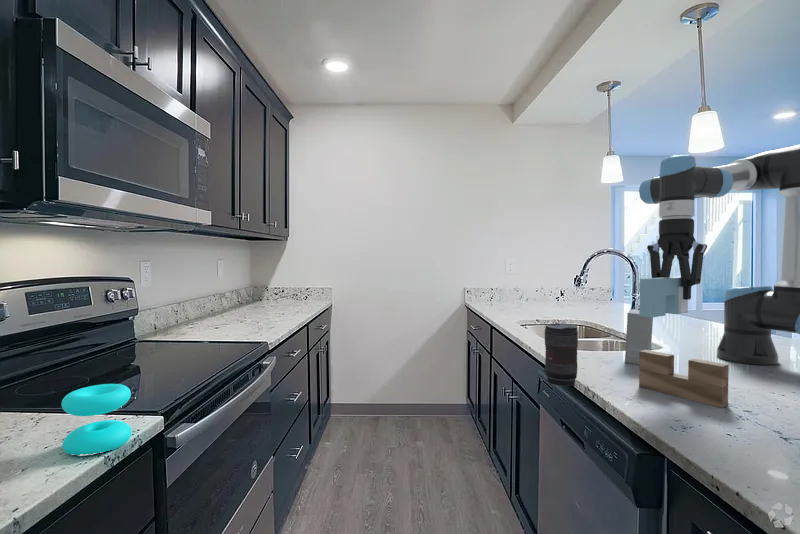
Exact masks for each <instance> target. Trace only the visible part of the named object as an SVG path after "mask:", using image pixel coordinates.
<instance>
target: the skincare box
mask: <svg viewBox="0 0 800 534" xmlns="http://www.w3.org/2000/svg"><path fill="white" fill-rule="evenodd" d="M626 320H627V321H626V322H627V323H626V335H625V336H626V338H625V351H624V352H625V355H624V362H625V363H629V364H635V365H639V351H643V350H650V351H652V343H653V342H652V341H653V338H652V337H653V324H654V323H653V322H654V317H644V316H639V309H630V310H629V311H628V312H627V317H626Z"/></svg>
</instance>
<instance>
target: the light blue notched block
mask: <svg viewBox="0 0 800 534" xmlns="http://www.w3.org/2000/svg"><path fill="white" fill-rule="evenodd" d="M681 284H682V281H681V276H670V277H661V278H652V277H647V278H646V277H645V278H639V307H638V308H639V309H638V310H639V316H644V317H653V318H658V317H664V316H666V314H671V315H679V314H682V313H678V291H679V287H681ZM688 304H689V301H688V300H687V313H688V312H689V311H688V309H689V308H688ZM687 313H686V314H687Z"/></svg>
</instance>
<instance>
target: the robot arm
mask: <svg viewBox="0 0 800 534" xmlns="http://www.w3.org/2000/svg"><path fill="white" fill-rule="evenodd" d="M659 167H660V168H659V174H658V176H655V177H654V176H653V177H651V178H647V179H645V180H643V181H642V182H641V183H640V185H639V187H638V189H639V190H638V194H639V199H640V200H641V201H642V202H643V203H644V204H647V205H656V204H657V205H658V204H659V207H658V209H659V210H658V213H659V215H658V218H660V220H659V221H658V240H657V242H655V243H653V244H649V245H647V246H646V247H647V248H646V249H647V250H648V252H649V261H650V272H651V273H650V274H651V278H661V277H671V271H672V266H673V261H674V259H675V256H676V259H677V260H678V266H679V272H680V277H681V281H682V284H681V287H679V291H678V313H681V314H687V300H691V299H692V287H693V286H695V285H700V283H701V280H702V271H703V263H704V255H705V252H706V251H707V248H708V245H707V244H706V243H700V242H697V241H696V238H695V235H694V233H695V220H694V219H693V217H694V216H695V212H696V211H695V199H701V198H708V199H712V198H713V199H715V198H721V197H724V196H725V195H727V194H729V192H730V191H735V192H743V191H753V190H775V189H778V193H779V194H781V195H782V196H783V197H784V198H785V202H784V203H785V204H784V205H785V207H784V219H783V222H784V224H783V238H782V255H781V256H782V257H781V274H780V275H781V277H780V280H779V281H778V282H776V283H775V284H774V285H773V287H772V286H771V285H759V286H758V285H757V286H740V287H729V288H727V289H726V290H725V292H724V293H725V294H724V300H723V303H724V304H723V305H724V307H723V310H724V311H723V312H724V313H723V315H724V316H723V318H724V319H723V321H724V322H723V334H722V337H721V339H720V342H719V344H718V347H717V349H716V357H718V358H719V359H721V360H725V361H728V362H729V361H730V362H734V363H739V364H740V363H741V364H747V365H759V366H760V365H761V366H762V365H763V366H766V365H767V366H771V365H773V366H774V365H777V364H779V354H778V352H777V349H776V347H775V343H774V341H773V339H772V331H778V332H785V333H791V334H792V333H793V334H798V335H800V144H797V145H796V144H795V145H793V146H787V147H783V148H778V149H772V150H768V151H764V152H761V153H758V154H755V155H752V156H748V157H746V158H745V157H744V158H740V159H736V160H734V161H731V162H730V163H729V164H726V165H720V166H714V167H711V166H698V165H697V163H696V158H695V156H694V155H691V154H680V155H679V154H677V155H671V156H668V157H665V158H663V159H662V160H661V161H660V166H659ZM691 249H692V251H693V252H692V253H693V255H692V260H691V267H690V253H689V252H690V250H691ZM660 250H662V256H661V255H660V254H661V253H660ZM661 258H662V262H661Z"/></svg>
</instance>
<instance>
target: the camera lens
mask: <svg viewBox="0 0 800 534" xmlns="http://www.w3.org/2000/svg"><path fill="white" fill-rule="evenodd" d="M578 335H579V330H578V327H577V325H575V324H571V323H562V322H561V323H557V322H556V323H548V324H546V325H545V327H544V346H545V349H544V350H545V359H544V360H545V361H544V369H545V376H546V379H547V383H548V384H552V385H555V386H561V387H571V386H574V385H575V384H576V379H577V378H578V377H577V376H578V347H579V345H578V344H579V338H578V337H579V336H578Z"/></svg>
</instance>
